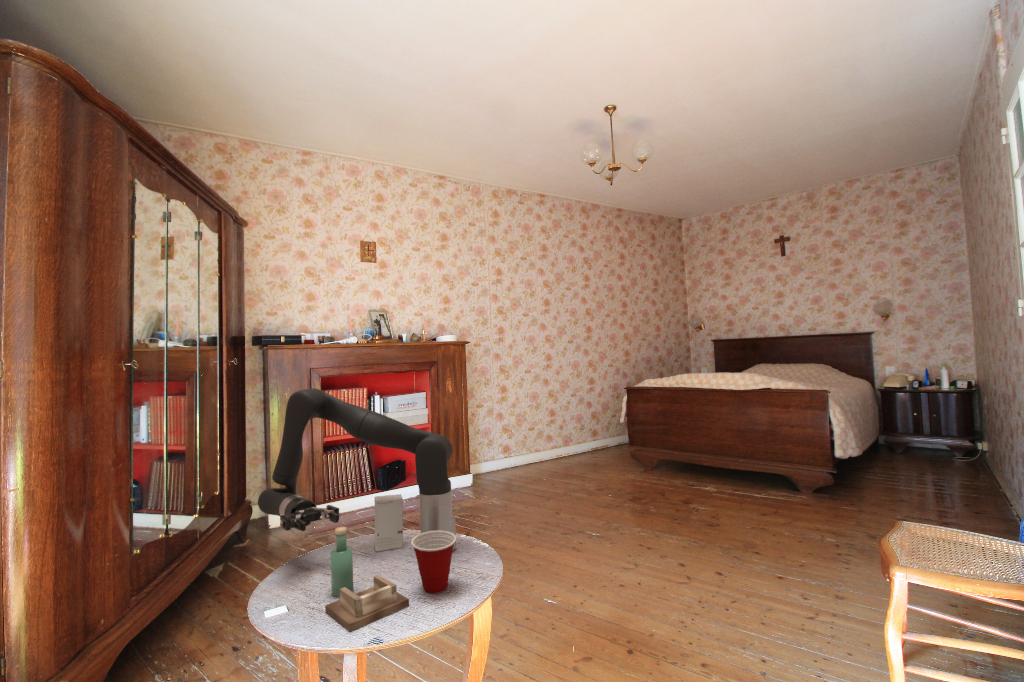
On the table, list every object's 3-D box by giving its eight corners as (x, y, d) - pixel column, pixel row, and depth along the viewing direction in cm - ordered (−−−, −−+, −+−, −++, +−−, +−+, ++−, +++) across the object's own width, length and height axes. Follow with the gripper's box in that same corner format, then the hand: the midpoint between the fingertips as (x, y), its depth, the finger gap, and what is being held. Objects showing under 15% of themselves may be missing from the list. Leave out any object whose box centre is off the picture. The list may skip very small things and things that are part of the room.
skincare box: (375, 552, 142) (373, 501, 143) (374, 545, 148) (373, 496, 148) (404, 547, 144) (402, 497, 145) (402, 541, 150) (401, 492, 151)
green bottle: (347, 585, 121) (346, 523, 121) (357, 591, 117) (355, 527, 118) (328, 592, 117) (326, 528, 118) (337, 599, 114) (335, 533, 114)
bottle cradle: (382, 589, 117) (381, 568, 118) (409, 605, 109) (408, 583, 109) (325, 612, 108) (324, 589, 108) (349, 631, 99) (349, 606, 99)
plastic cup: (414, 602, 110) (413, 549, 111) (411, 582, 120) (409, 533, 121) (461, 594, 113) (459, 542, 114) (454, 575, 124) (452, 527, 124)
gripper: (270, 502, 133) (292, 514, 121) (322, 492, 143) (347, 502, 131) (270, 530, 132) (292, 545, 121) (322, 518, 142) (347, 530, 131)
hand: (321, 522), depth 126 cm, fingers open, 8 cm apart
